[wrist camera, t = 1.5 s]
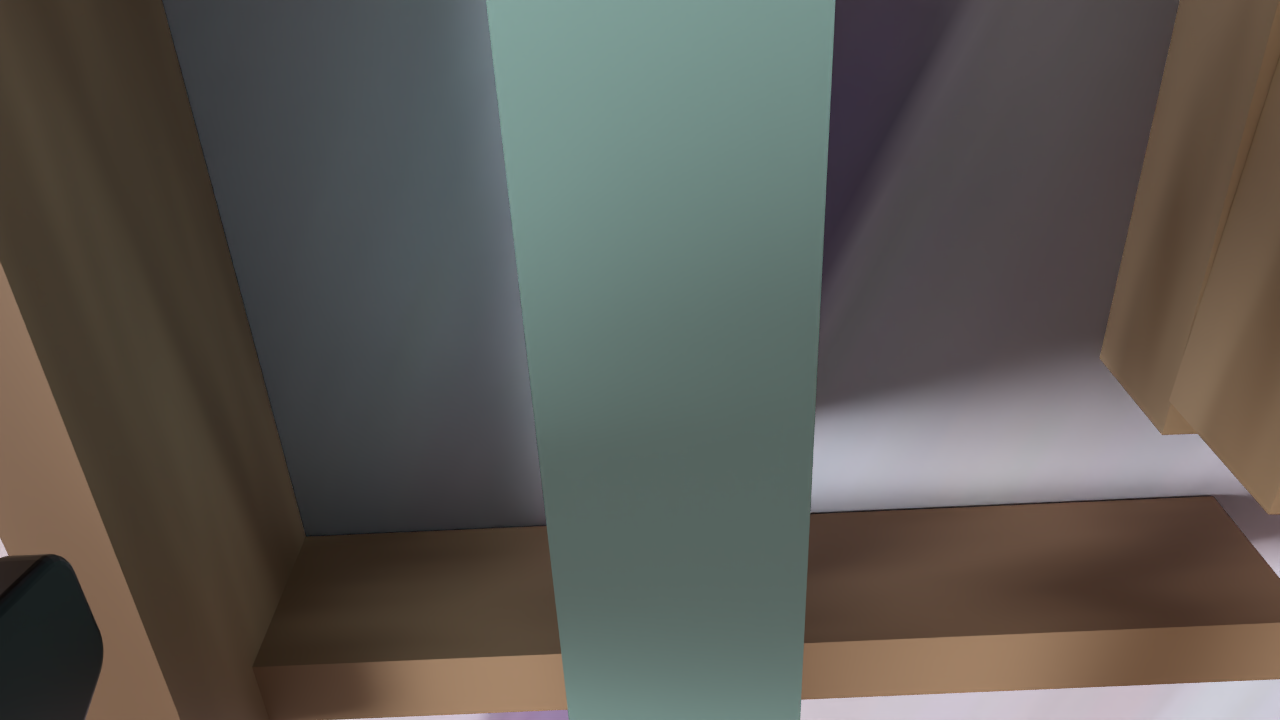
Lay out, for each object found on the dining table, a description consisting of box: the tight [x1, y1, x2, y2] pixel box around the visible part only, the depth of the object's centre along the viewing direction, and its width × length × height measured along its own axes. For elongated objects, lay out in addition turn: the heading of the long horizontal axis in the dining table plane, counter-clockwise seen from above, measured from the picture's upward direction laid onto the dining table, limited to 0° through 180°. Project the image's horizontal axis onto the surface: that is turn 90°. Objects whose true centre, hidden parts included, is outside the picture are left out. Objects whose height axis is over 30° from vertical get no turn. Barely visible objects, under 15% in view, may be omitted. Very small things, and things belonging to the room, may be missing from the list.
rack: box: [0, 0, 1280, 720], centre depth 12 cm, size 17×15×5 cm
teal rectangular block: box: [486, 0, 835, 720], centre depth 11 cm, size 2×9×8 cm, turn 3°
